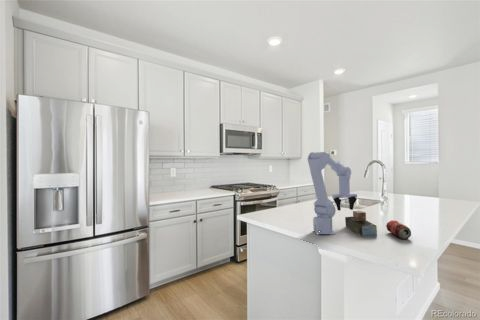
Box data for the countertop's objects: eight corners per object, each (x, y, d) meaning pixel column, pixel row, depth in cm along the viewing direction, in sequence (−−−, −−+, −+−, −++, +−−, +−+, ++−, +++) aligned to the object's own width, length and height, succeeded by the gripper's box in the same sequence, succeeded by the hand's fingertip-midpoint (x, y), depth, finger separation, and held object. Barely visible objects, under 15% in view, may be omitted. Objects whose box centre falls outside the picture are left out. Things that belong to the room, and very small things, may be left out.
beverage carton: (361, 237, 118) (361, 224, 118) (344, 227, 137) (344, 215, 137) (377, 237, 118) (377, 224, 118) (358, 226, 137) (357, 215, 137)
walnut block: (358, 221, 124) (357, 212, 124) (353, 219, 129) (352, 211, 129) (366, 220, 125) (365, 212, 125) (360, 218, 129) (360, 210, 129)
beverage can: (397, 240, 112) (397, 226, 112) (386, 232, 124) (385, 220, 124) (414, 240, 111) (413, 226, 111) (401, 233, 123) (400, 220, 123)
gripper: (336, 188, 134) (336, 212, 134) (359, 187, 135) (360, 210, 135) (330, 187, 141) (330, 209, 141) (352, 186, 142) (353, 208, 142)
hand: (345, 209), depth 138 cm, fingers open, 7 cm apart
